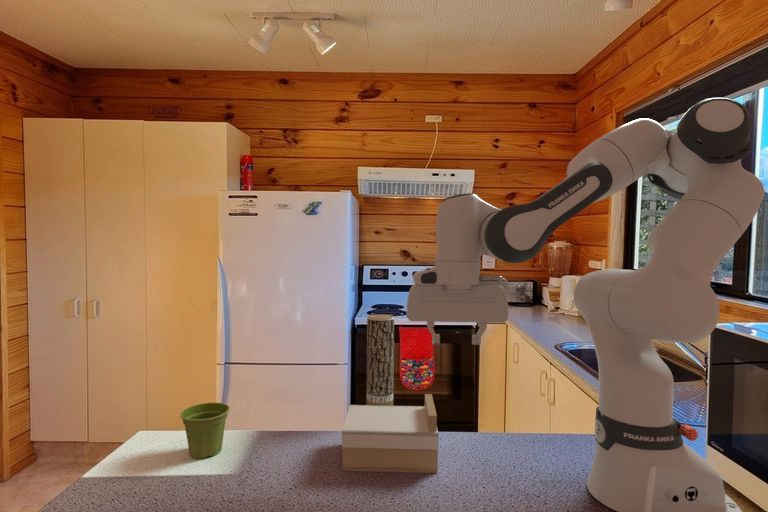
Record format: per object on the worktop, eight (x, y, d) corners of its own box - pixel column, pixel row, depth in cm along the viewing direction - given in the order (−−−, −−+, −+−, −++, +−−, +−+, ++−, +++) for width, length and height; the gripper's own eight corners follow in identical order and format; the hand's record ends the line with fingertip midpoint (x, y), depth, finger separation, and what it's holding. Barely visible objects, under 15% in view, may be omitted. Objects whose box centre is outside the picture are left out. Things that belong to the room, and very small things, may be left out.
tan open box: (432, 444, 94) (432, 412, 94) (437, 473, 82) (437, 436, 82) (349, 442, 94) (349, 410, 94) (342, 470, 82) (342, 434, 82)
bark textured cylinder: (367, 409, 114) (368, 314, 113) (393, 409, 113) (394, 314, 113) (365, 419, 107) (366, 318, 107) (392, 420, 107) (393, 318, 106)
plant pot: (212, 466, 84) (212, 421, 84) (169, 460, 86) (169, 417, 85) (238, 444, 93) (238, 404, 93) (199, 440, 95) (199, 400, 95)
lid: (432, 420, 95) (432, 392, 95) (438, 449, 81) (438, 417, 81) (349, 418, 95) (350, 391, 95) (342, 447, 81) (342, 415, 81)
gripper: (505, 274, 90) (504, 341, 90) (406, 273, 90) (405, 339, 91) (513, 277, 84) (512, 348, 84) (407, 275, 84) (406, 346, 84)
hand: (456, 343), depth 87 cm, fingers open, 7 cm apart
